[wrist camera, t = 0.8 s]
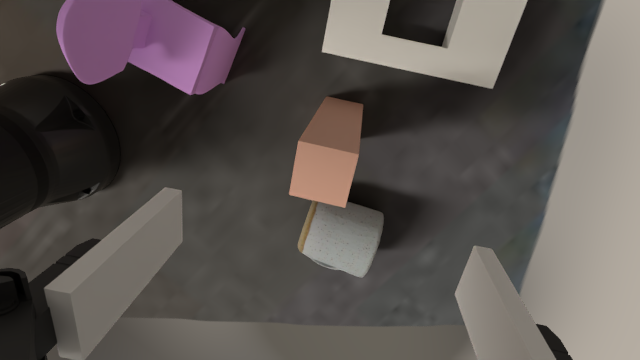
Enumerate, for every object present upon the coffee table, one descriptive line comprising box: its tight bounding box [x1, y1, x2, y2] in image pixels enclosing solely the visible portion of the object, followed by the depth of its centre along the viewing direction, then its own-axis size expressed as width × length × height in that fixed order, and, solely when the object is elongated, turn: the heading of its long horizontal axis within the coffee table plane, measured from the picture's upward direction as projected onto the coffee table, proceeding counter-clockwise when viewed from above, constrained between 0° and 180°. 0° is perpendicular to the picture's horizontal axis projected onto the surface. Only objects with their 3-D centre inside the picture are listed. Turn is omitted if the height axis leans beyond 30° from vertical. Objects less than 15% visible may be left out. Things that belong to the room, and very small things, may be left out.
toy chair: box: [56, 0, 246, 95], centre depth 30 cm, size 8×9×15 cm
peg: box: [289, 96, 363, 208], centre depth 31 cm, size 4×4×16 cm
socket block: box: [322, 0, 528, 89], centre depth 31 cm, size 16×11×3 cm
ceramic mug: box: [298, 200, 384, 277], centre depth 40 cm, size 11×8×8 cm
